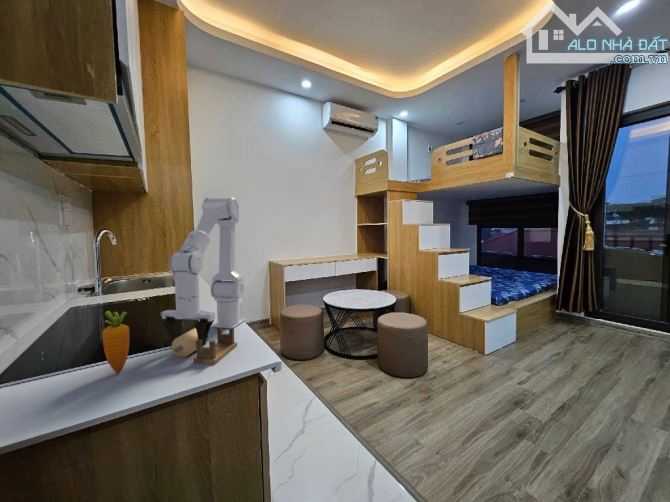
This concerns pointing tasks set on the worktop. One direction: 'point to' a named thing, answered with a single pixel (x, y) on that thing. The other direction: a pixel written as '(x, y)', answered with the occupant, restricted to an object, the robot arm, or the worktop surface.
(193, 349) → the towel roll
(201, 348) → the roll holder
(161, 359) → the worktop surface
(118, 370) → the carrot
